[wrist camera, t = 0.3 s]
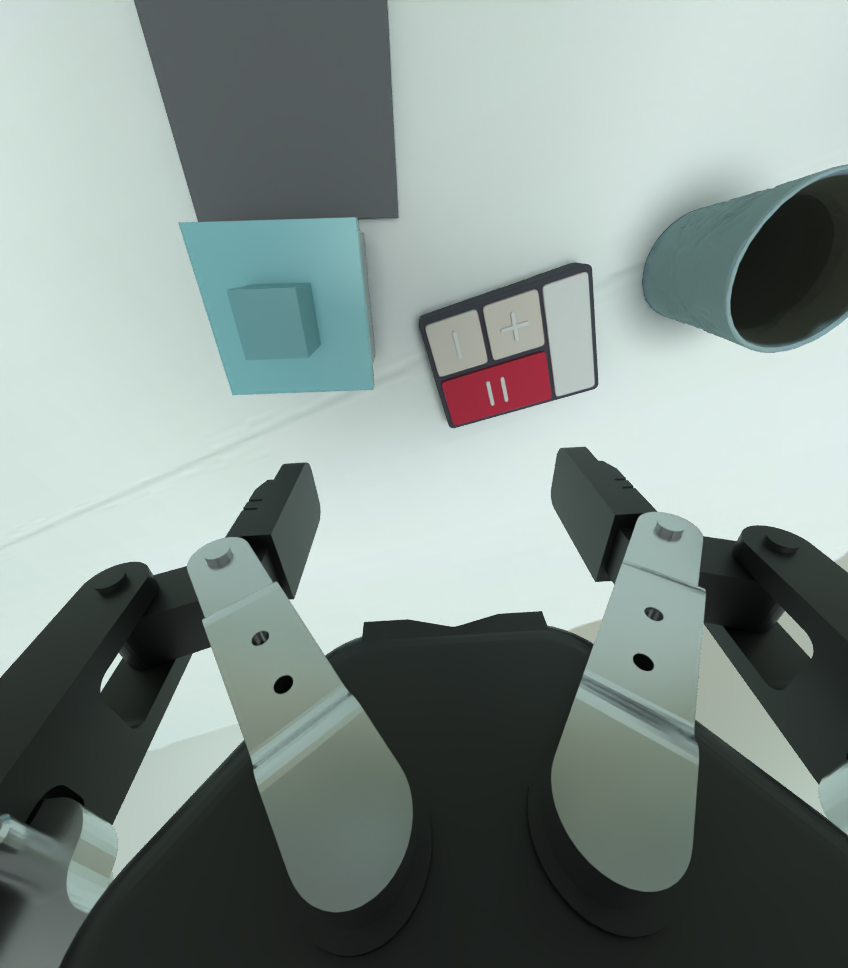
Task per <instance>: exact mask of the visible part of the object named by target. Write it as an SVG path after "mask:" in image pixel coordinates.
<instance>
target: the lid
mask: <svg viewBox="0 0 848 968" xmlns="http://www.w3.org/2000/svg"><path fill="white" fill-rule="evenodd" d="M179 226H180V229H181V232H182V235H183V239H184V242H185V245H186V248H187V251H188V255H189V258H190V261H191V264H192V267H193V271H194V274H195V277H196V280H197V283H198V286H199V290H200V293H201V296H202V299H203V302H204V306H205V309H206V312H207V315H208V318H209V321H210V325H211V328H212V331H213V334H214V337H215V341H216V344H217V347H218V350H219V353H220V356H221V360H222V363H223V366H224V369H225V372H226V376H227V379H228V382H229V385H230V388H231V392H232V395H246V394H272V393H298V392H324V391H350V390H373V389H374V385H375V384H374V374H373V364H372V354H371V344H370V334H369V324H368V314H367V304H366V294H365V284H364V274H363V264H362V254H361V244H360V234H359V224H358V218H356V217H351V218H318V219H285V220H252V221H218V222H185V223H179Z"/></svg>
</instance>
